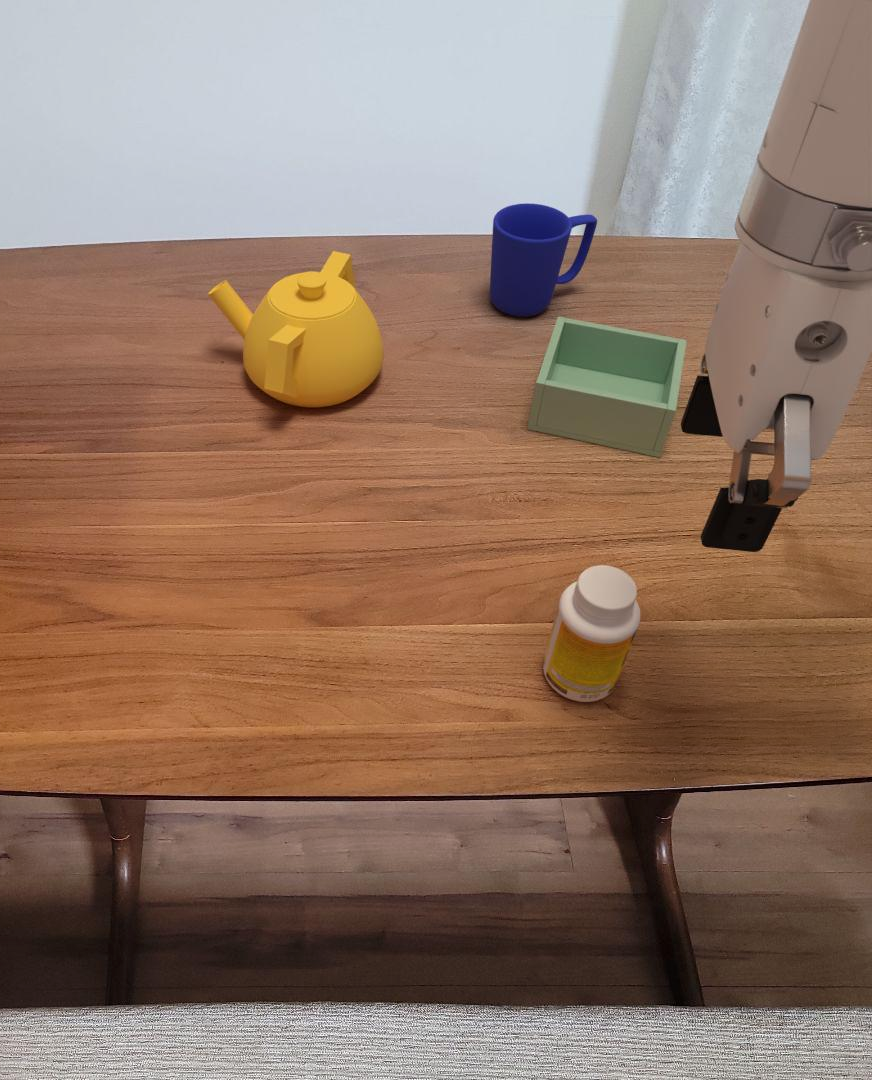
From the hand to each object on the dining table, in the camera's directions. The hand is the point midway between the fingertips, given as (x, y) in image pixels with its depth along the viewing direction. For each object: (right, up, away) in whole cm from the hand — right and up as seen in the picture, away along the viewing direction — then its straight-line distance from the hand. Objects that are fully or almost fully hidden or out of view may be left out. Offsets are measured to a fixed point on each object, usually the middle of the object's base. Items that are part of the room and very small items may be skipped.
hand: (717, 485), depth 54 cm
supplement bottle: (-4, -13, +16) cm, 21 cm away
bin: (+4, +10, +38) cm, 39 cm away
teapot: (-26, +15, +42) cm, 52 cm away
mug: (0, +24, +51) cm, 57 cm away
